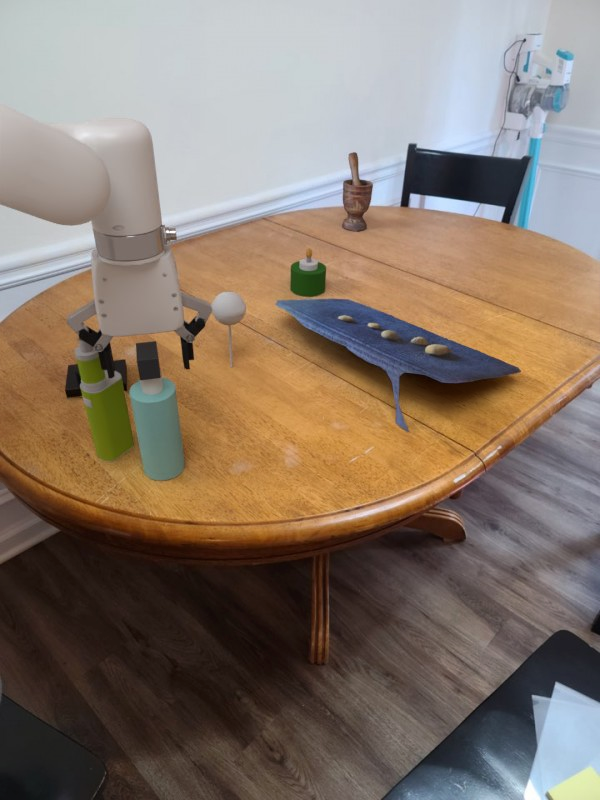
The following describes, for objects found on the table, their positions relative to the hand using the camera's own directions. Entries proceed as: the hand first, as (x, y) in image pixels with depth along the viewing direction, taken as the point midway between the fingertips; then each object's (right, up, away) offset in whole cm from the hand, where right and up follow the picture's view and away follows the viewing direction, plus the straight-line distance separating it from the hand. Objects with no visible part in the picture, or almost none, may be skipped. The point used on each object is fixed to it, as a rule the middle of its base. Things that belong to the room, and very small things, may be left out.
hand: (149, 368), depth 74 cm
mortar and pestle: (+35, +49, +98) cm, 115 cm away
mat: (+36, +4, +36) cm, 51 cm away
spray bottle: (0, -14, +9) cm, 17 cm away
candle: (+22, +22, +60) cm, 68 cm away
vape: (-8, -12, +12) cm, 19 cm away
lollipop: (+7, +2, +32) cm, 33 cm away
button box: (-16, -1, +27) cm, 31 cm away
